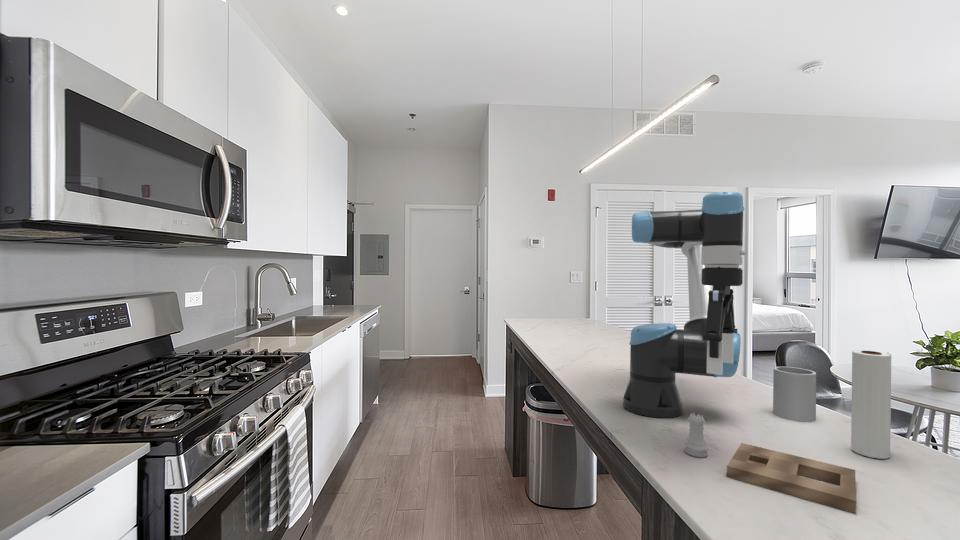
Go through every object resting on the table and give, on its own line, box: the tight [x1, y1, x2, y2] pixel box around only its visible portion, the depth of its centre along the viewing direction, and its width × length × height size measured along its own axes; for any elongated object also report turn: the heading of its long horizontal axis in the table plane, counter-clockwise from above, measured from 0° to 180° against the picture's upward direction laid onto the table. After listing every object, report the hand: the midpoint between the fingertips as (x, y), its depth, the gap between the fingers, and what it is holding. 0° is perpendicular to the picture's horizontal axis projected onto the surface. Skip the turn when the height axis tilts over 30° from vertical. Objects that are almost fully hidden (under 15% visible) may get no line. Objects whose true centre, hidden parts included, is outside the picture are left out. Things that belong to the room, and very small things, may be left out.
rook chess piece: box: [684, 412, 709, 459], centre depth 89 cm, size 4×4×8 cm
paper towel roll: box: [850, 350, 892, 460], centre depth 90 cm, size 7×6×21 cm
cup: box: [772, 366, 817, 423], centre depth 113 cm, size 9×9×12 cm
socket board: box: [726, 442, 857, 514], centre depth 79 cm, size 18×14×2 cm
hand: (720, 368), depth 90 cm, fingers open, 13 cm apart
